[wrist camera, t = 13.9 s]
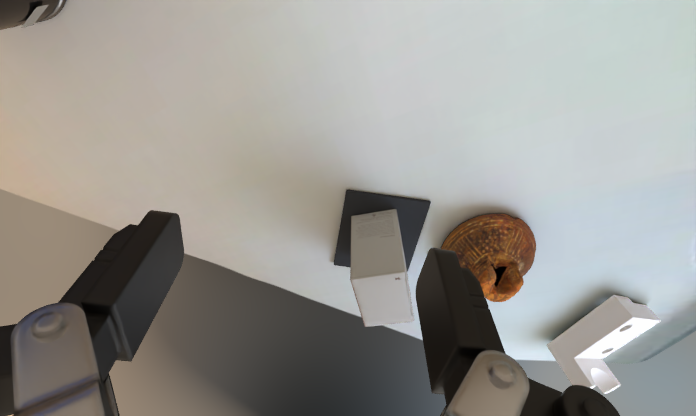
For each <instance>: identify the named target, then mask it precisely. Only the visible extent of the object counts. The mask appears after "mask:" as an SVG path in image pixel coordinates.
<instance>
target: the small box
mask: <svg viewBox="0 0 696 416" xmlns="http://www.w3.org/2000/svg"><path fill="white" fill-rule="evenodd" d="M350 280H351V283H352V286H353V290H354V293H355V296H356V299H357V303H358V306H359V309H360V312H361V316H362V319H363V322H364V325H365V327H366V326H377V325H386V324H396V323H405V322H413V321H414V315H413V309H412V302H411V296H410V289H409V283H408V276H407V269H406V263H405V256H404V251H403V245H402V239H401V233H400V227H399V222H398V216H397V211H396V209H391V210H385V211H379V212H373V213H367V214H361V215H354V216H351V276H350Z"/></svg>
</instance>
